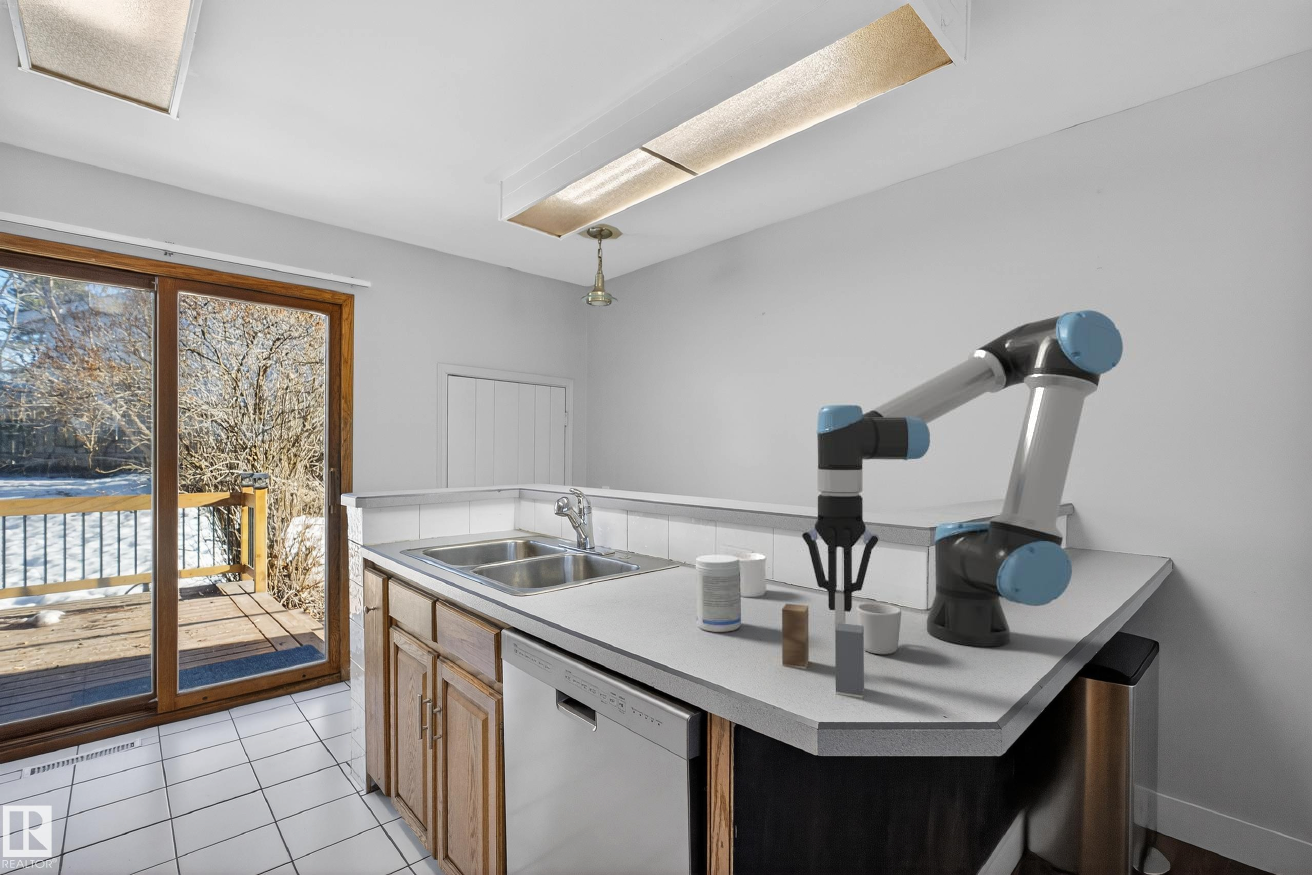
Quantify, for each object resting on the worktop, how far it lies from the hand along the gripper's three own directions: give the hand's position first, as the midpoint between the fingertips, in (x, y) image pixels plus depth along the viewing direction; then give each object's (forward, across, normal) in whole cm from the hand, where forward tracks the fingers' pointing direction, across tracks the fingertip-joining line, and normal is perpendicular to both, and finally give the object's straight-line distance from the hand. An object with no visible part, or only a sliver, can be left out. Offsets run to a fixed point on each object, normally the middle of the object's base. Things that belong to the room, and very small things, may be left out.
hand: (840, 628), depth 106 cm
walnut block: (+7, +8, 0) cm, 10 cm away
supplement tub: (+7, +27, -16) cm, 32 cm away
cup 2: (+7, -6, -14) cm, 17 cm away
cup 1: (+7, +28, -47) cm, 55 cm away
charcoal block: (+7, -2, +9) cm, 12 cm away
